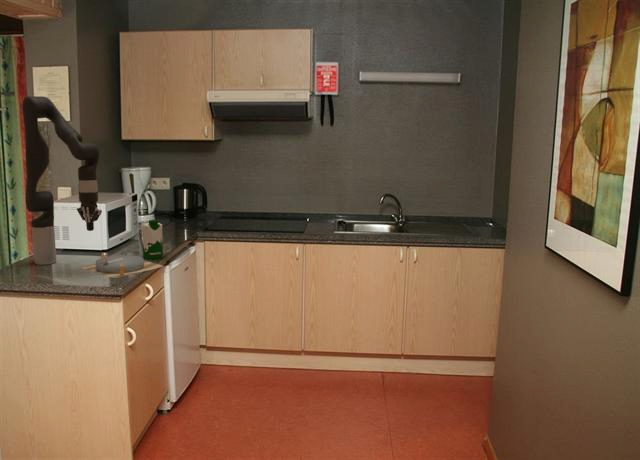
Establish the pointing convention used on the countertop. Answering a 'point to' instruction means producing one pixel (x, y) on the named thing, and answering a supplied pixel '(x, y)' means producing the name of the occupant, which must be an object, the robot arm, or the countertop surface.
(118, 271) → the cam dial
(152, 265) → the birch board
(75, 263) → the countertop surface
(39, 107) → the robot arm
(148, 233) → the milk carton
